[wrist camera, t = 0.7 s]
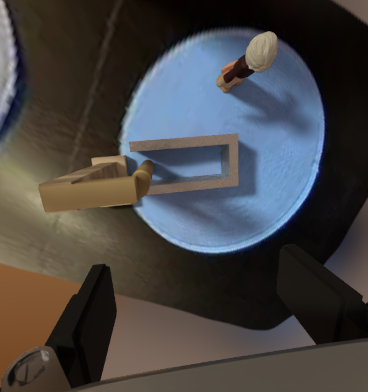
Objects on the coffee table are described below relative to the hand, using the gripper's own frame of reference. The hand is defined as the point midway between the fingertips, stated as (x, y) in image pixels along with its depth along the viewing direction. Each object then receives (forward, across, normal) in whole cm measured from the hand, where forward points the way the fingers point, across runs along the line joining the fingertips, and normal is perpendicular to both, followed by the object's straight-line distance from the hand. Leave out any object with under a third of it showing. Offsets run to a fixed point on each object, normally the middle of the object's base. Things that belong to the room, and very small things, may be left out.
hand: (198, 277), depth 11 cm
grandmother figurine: (+26, -10, -16) cm, 32 cm away
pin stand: (+26, +7, -1) cm, 27 cm away
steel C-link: (+26, -2, -3) cm, 26 cm away
